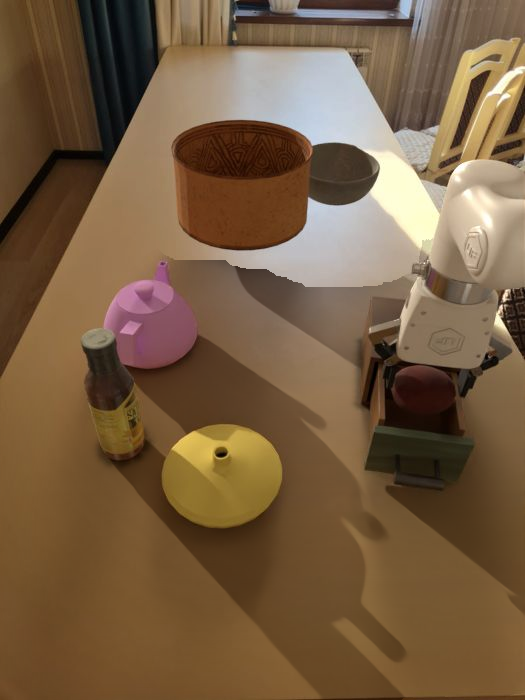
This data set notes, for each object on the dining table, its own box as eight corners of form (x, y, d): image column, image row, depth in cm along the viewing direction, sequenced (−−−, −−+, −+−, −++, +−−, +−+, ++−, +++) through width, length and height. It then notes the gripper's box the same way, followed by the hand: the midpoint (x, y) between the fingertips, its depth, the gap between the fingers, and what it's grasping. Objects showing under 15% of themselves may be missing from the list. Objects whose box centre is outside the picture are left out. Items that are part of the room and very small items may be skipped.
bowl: (275, 203, 131) (276, 163, 124) (318, 173, 143) (321, 135, 136) (349, 228, 122) (355, 187, 116) (387, 195, 135) (395, 155, 128)
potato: (432, 437, 69) (441, 406, 65) (377, 407, 74) (382, 375, 70) (458, 405, 74) (468, 373, 70) (404, 378, 78) (411, 346, 74)
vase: (271, 548, 66) (273, 518, 61) (147, 526, 68) (139, 496, 63) (289, 446, 77) (291, 414, 73) (182, 429, 79) (178, 397, 74)
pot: (263, 286, 106) (265, 191, 92) (153, 244, 116) (141, 153, 102) (326, 226, 123) (337, 138, 109) (226, 194, 133) (224, 110, 120)
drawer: (460, 511, 69) (479, 474, 64) (363, 497, 71) (373, 460, 65) (447, 407, 82) (461, 369, 77) (365, 397, 83) (373, 359, 78)
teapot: (181, 394, 84) (174, 336, 76) (85, 383, 86) (68, 325, 77) (210, 307, 100) (207, 252, 92) (129, 299, 102) (119, 244, 93)
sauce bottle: (146, 460, 75) (124, 356, 62) (100, 465, 74) (68, 362, 61) (146, 423, 80) (125, 320, 66) (102, 428, 79) (73, 325, 66)
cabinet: (450, 415, 82) (468, 368, 75) (360, 404, 84) (370, 357, 77) (441, 351, 93) (457, 305, 86) (362, 342, 94) (371, 295, 87)
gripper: (380, 289, 57) (357, 398, 69) (549, 306, 56) (497, 415, 67) (379, 251, 63) (358, 358, 75) (533, 266, 61) (487, 373, 73)
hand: (424, 385), depth 71 cm, fingers open, 8 cm apart
